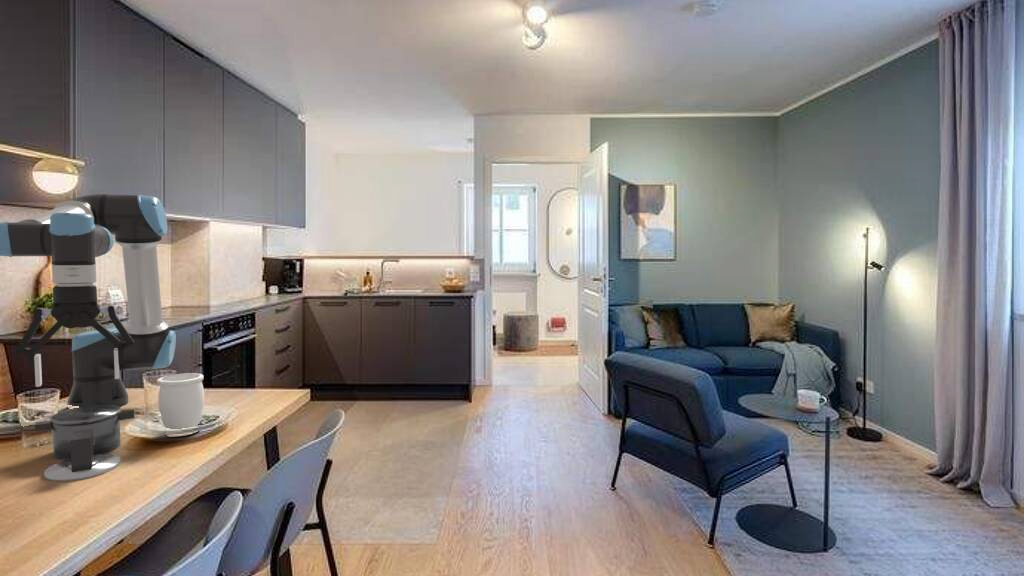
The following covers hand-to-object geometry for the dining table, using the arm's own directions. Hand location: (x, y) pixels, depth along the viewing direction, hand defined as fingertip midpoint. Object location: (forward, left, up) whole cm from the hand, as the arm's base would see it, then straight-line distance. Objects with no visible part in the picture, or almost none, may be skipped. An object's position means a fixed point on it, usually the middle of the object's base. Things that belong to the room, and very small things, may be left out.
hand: (79, 381), depth 123 cm
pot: (-14, 0, -20) cm, 24 cm away
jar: (-16, +20, -20) cm, 32 cm away
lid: (0, 0, -20) cm, 20 cm away
